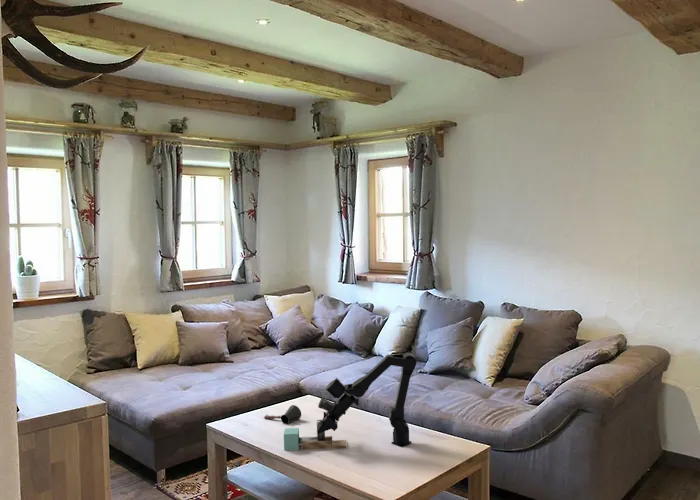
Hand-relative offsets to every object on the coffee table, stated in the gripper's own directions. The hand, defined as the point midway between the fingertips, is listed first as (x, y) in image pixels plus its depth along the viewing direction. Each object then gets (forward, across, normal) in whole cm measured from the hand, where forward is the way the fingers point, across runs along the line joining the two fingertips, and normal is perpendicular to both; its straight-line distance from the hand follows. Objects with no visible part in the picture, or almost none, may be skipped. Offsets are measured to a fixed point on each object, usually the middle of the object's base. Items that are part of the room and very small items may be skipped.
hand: (317, 431), depth 249 cm
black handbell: (+18, -36, -8) cm, 41 cm away
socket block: (+13, 0, -3) cm, 13 cm away
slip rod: (+7, 0, +1) cm, 7 cm away
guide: (+3, 0, +6) cm, 7 cm away
